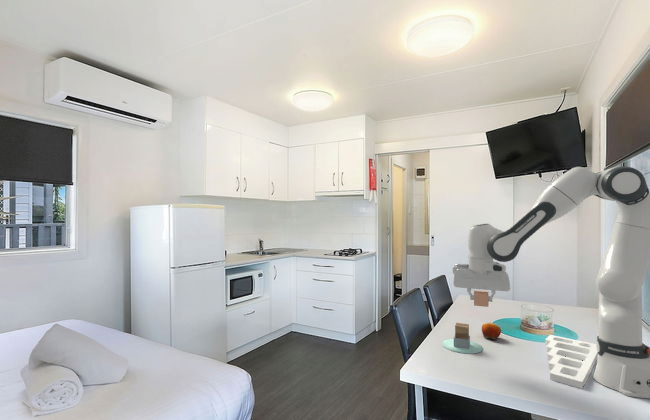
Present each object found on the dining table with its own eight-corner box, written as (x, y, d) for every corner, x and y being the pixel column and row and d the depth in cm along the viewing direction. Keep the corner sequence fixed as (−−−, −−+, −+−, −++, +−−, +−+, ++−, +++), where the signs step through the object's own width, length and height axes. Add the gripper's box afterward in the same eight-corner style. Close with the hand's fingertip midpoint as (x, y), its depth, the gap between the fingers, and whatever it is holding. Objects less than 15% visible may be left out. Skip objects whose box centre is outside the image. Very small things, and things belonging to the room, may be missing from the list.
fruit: (480, 337, 152) (481, 319, 156) (481, 341, 158) (482, 324, 162) (501, 340, 149) (501, 322, 152) (501, 344, 154) (501, 327, 158)
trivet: (582, 390, 109) (582, 381, 110) (520, 372, 122) (520, 364, 122) (601, 351, 141) (601, 345, 141) (550, 340, 154) (550, 334, 154)
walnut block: (467, 339, 142) (467, 327, 142) (455, 337, 144) (455, 325, 145) (468, 335, 147) (468, 324, 147) (456, 334, 149) (456, 322, 149)
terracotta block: (488, 304, 134) (488, 291, 135) (488, 306, 130) (488, 293, 130) (474, 302, 137) (474, 290, 137) (474, 305, 132) (473, 292, 132)
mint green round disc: (483, 343, 149) (483, 334, 149) (481, 356, 135) (481, 346, 135) (444, 337, 156) (444, 328, 156) (439, 349, 142) (439, 339, 142)
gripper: (451, 264, 136) (452, 299, 135) (510, 267, 126) (510, 305, 126) (453, 262, 141) (454, 296, 141) (509, 265, 132) (510, 301, 132)
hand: (481, 300), depth 133 cm, fingers closed on terracotta block, 5 cm apart
